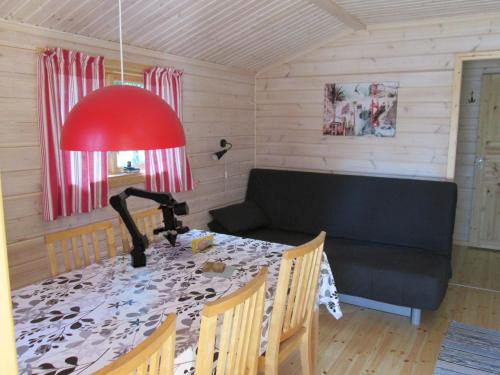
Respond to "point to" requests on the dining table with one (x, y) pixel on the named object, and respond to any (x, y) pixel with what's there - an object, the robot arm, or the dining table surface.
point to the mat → (226, 273)
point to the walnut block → (213, 267)
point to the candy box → (202, 244)
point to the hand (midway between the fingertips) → (173, 246)
